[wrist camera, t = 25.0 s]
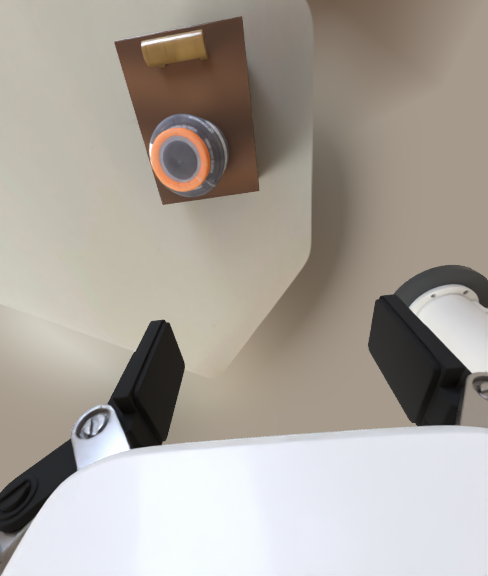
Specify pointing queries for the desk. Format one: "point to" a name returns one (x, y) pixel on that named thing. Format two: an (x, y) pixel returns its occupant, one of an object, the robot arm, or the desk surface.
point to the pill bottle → (188, 154)
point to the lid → (195, 92)
